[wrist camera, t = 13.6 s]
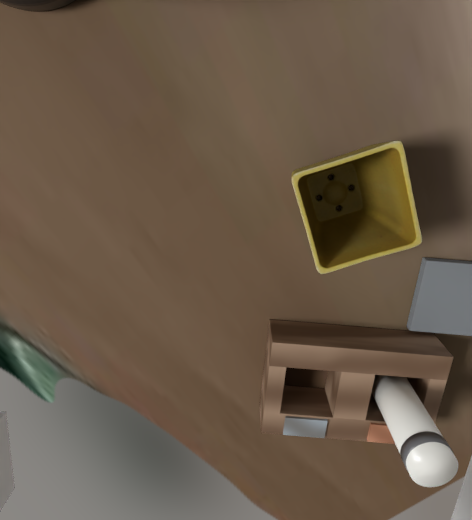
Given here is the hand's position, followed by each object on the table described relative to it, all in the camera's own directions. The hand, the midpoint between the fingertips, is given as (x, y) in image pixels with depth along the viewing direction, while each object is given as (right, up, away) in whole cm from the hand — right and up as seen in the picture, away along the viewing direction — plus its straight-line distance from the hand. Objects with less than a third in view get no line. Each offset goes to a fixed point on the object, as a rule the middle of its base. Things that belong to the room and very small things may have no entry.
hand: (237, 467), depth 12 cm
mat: (+23, +2, +33) cm, 41 cm away
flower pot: (+10, +13, +30) cm, 34 cm away
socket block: (+12, -6, +37) cm, 39 cm away
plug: (+17, -7, +37) cm, 41 cm away
